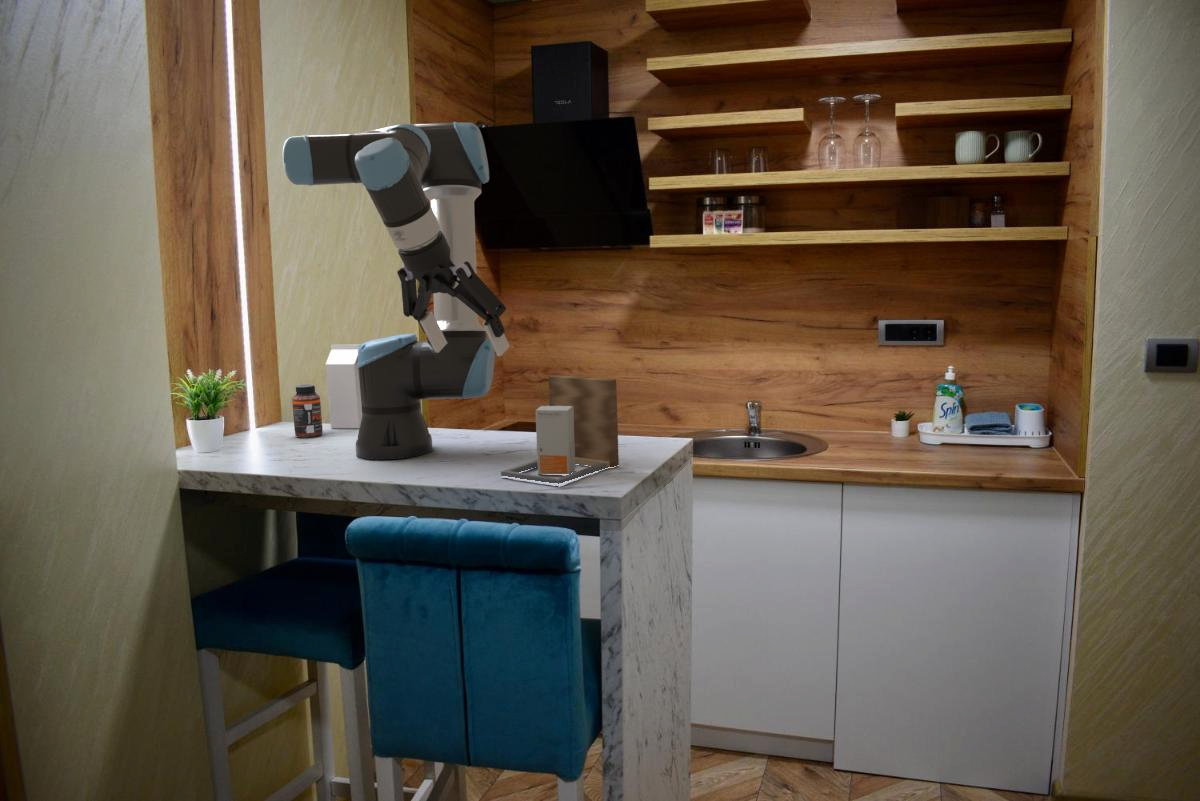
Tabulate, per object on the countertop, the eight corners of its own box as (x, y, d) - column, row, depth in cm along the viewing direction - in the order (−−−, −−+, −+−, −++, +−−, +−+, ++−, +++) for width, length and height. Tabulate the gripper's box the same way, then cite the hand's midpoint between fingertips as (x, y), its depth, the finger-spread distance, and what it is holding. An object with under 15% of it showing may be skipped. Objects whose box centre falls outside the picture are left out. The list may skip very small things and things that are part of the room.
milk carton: (359, 429, 213) (352, 346, 209) (330, 428, 214) (323, 346, 211) (373, 422, 220) (366, 342, 216) (345, 422, 221) (338, 342, 218)
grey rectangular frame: (501, 478, 165) (500, 471, 164) (554, 460, 176) (553, 454, 176) (559, 487, 157) (558, 480, 157) (610, 468, 169) (610, 461, 169)
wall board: (551, 459, 177) (548, 376, 174) (558, 457, 178) (555, 375, 176) (612, 468, 169) (609, 381, 166) (618, 466, 170) (616, 379, 167)
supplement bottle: (318, 438, 204) (314, 387, 202) (291, 438, 204) (286, 387, 202) (326, 432, 210) (322, 382, 208) (300, 433, 210) (295, 383, 208)
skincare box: (537, 476, 165) (534, 409, 163) (544, 470, 169) (541, 405, 167) (570, 477, 164) (567, 410, 162) (576, 470, 168) (574, 405, 166)
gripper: (348, 253, 148) (404, 359, 160) (467, 251, 134) (519, 367, 146) (376, 229, 153) (429, 333, 165) (494, 224, 139) (542, 338, 151)
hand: (471, 349), depth 156 cm, fingers open, 13 cm apart
